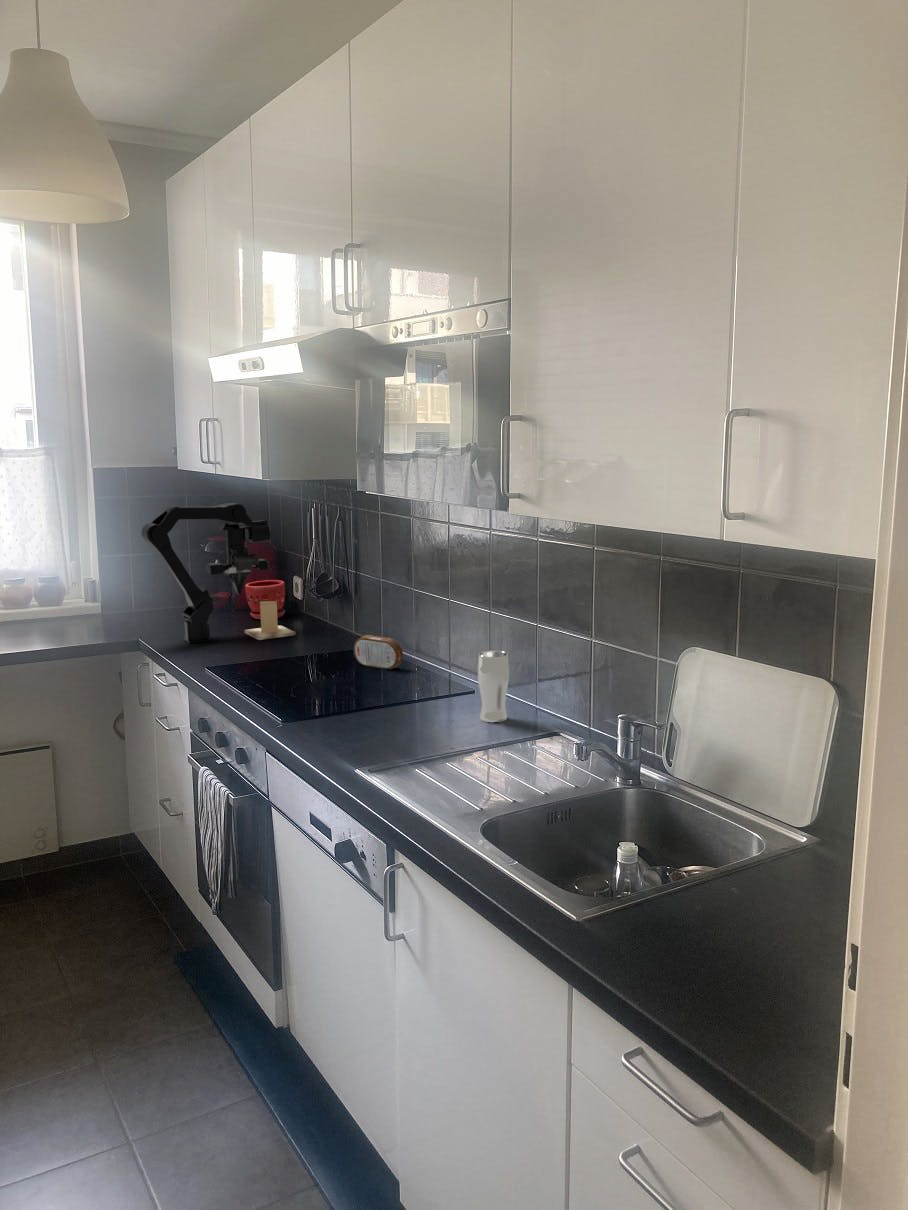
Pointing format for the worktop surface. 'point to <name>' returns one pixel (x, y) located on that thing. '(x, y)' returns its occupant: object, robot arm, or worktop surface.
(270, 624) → the ochre block
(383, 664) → the tin
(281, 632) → the birch board
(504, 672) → the beer glass
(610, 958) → the worktop surface
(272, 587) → the plant pot
